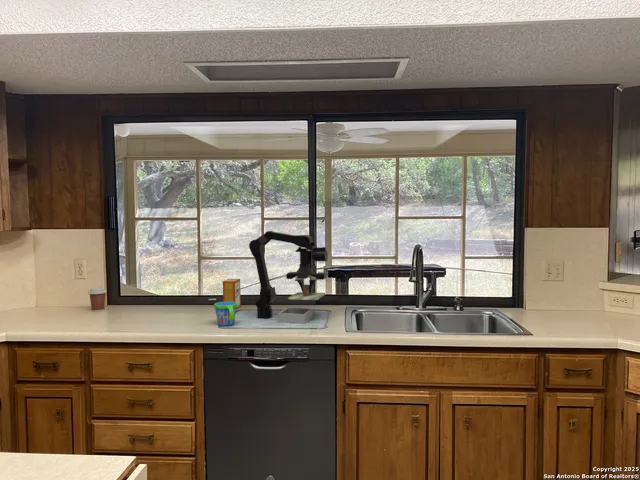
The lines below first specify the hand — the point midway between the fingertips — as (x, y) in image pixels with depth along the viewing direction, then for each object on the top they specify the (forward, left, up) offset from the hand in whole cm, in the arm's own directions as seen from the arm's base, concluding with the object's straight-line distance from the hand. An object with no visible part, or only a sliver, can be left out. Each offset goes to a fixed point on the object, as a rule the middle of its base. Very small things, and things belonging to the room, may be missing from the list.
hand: (306, 293), depth 225 cm
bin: (-5, -2, -13) cm, 14 cm away
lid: (0, +1, -2) cm, 2 cm away
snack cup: (-35, -16, -14) cm, 41 cm away
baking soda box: (-48, +18, -14) cm, 53 cm away
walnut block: (-5, -2, -13) cm, 14 cm away
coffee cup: (-117, -3, -14) cm, 118 cm away
